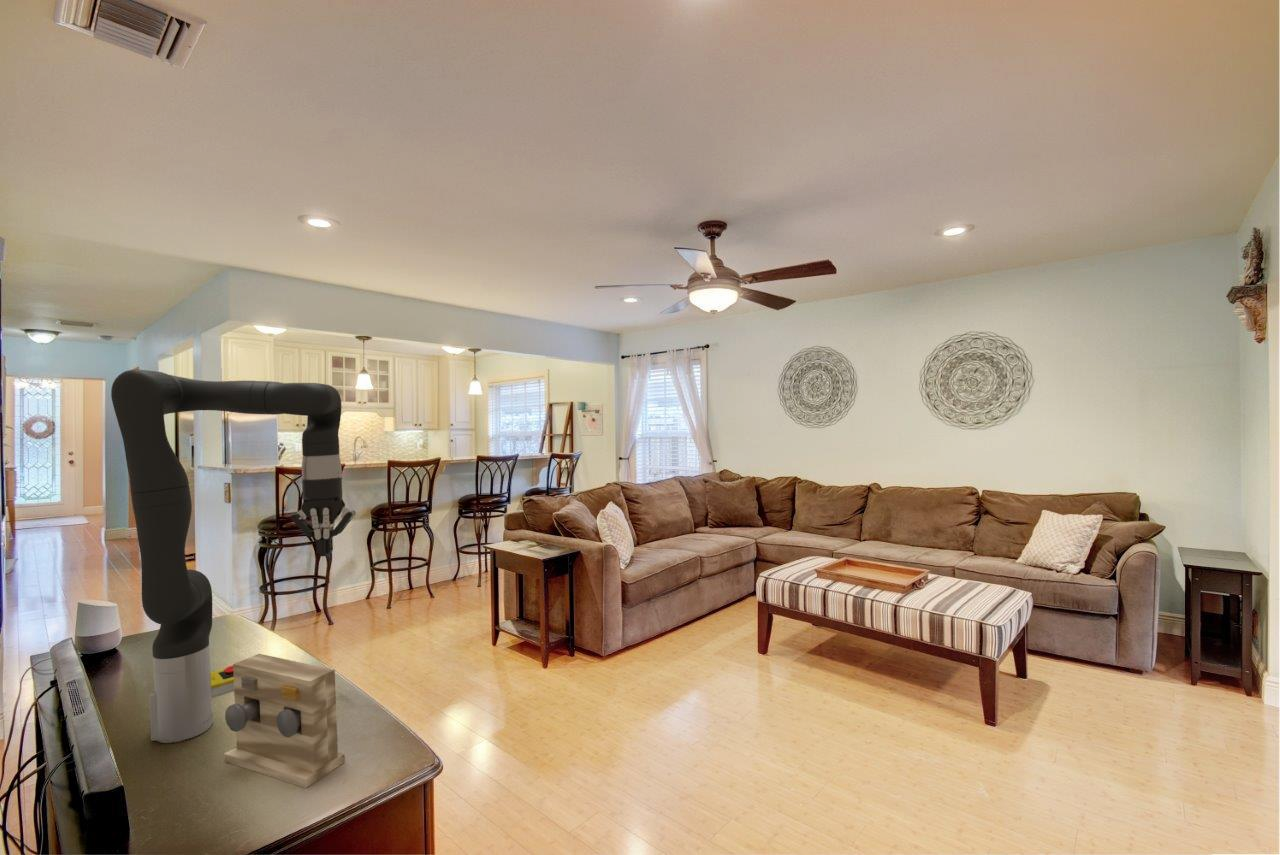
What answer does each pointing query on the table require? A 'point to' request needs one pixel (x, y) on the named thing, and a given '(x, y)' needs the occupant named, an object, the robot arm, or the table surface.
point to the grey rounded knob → (289, 722)
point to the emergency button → (222, 681)
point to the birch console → (277, 691)
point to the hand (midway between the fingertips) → (325, 555)
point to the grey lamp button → (241, 714)
